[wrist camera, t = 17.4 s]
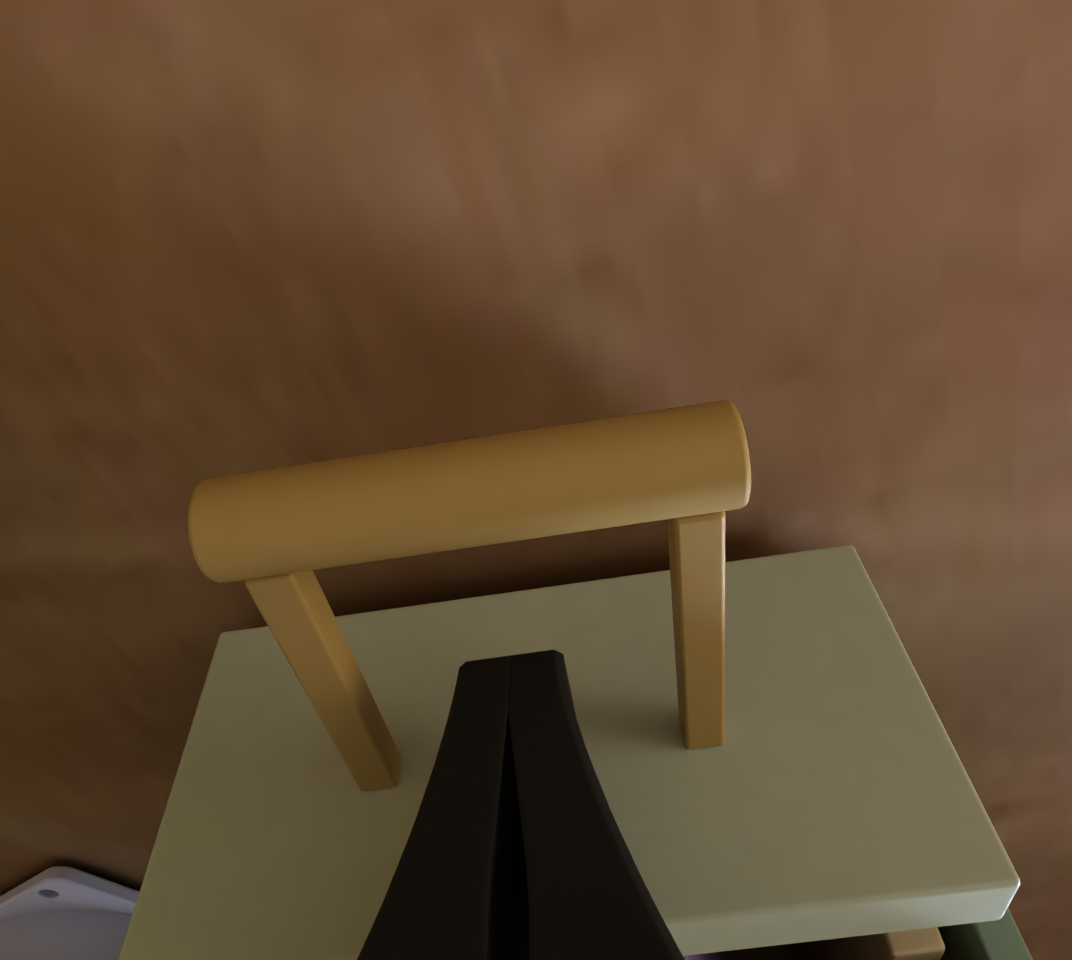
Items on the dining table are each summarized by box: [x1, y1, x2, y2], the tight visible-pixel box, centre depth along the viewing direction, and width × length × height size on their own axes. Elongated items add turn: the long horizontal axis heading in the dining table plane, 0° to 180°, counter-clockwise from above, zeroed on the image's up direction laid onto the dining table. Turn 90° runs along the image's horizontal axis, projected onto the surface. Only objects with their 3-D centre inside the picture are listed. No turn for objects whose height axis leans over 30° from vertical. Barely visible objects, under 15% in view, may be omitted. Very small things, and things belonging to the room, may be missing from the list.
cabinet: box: [938, 908, 1033, 960], centre depth 19 cm, size 13×13×8 cm
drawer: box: [118, 400, 1020, 960], centre depth 15 cm, size 18×12×6 cm, turn 8°
